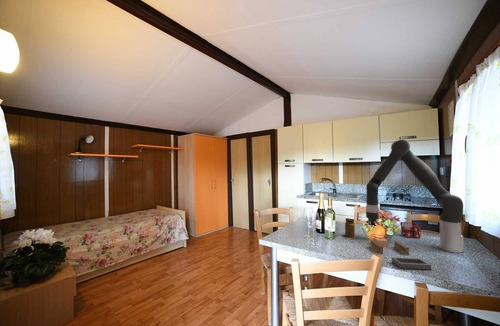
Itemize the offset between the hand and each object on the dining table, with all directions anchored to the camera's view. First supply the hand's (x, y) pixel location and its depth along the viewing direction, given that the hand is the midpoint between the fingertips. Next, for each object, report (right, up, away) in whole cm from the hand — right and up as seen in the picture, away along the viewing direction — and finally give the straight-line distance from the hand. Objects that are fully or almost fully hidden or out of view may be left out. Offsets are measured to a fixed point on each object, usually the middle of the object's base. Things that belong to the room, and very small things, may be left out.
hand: (372, 236), depth 140 cm
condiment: (-14, -2, +5) cm, 15 cm away
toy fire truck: (+31, -3, +5) cm, 31 cm away
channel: (-2, -2, -19) cm, 19 cm away
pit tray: (-3, -1, -37) cm, 38 cm away
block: (-1, -2, -10) cm, 10 cm away
